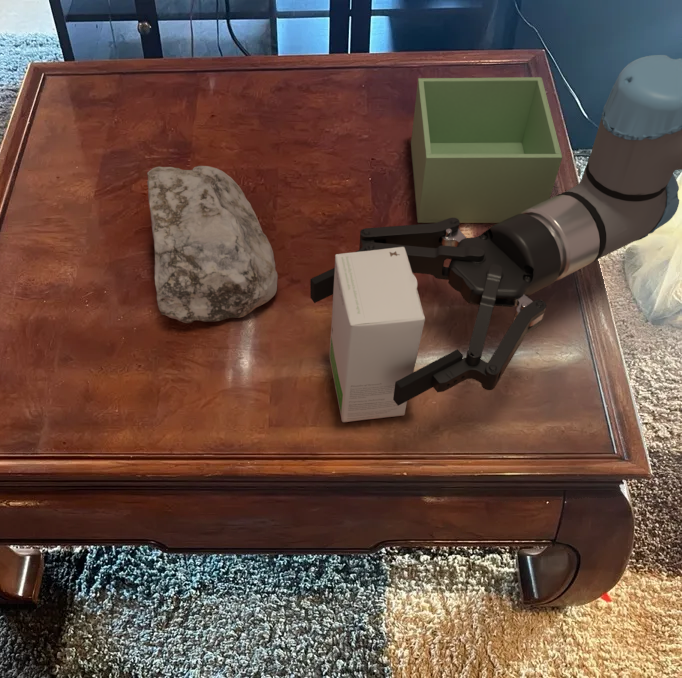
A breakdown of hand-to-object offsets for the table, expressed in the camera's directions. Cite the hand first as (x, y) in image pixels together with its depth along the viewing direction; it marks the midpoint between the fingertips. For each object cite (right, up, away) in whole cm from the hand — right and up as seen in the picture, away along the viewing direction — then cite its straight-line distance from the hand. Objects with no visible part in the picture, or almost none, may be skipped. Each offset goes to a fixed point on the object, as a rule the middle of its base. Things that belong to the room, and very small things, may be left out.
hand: (352, 340), depth 72 cm
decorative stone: (-14, +9, +19) cm, 25 cm away
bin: (+17, +19, +25) cm, 36 cm away
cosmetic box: (+2, -5, +8) cm, 9 cm away
